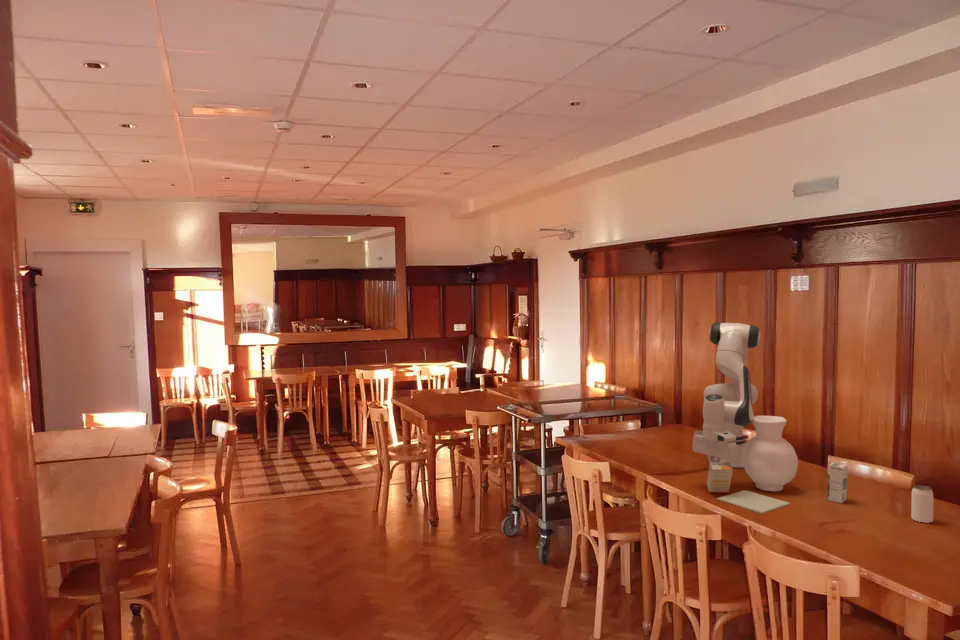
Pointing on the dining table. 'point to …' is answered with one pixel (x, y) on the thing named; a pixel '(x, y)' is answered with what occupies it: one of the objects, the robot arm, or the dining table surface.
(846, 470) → the syrup box
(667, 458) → the dining table surface
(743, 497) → the board
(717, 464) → the supplement box
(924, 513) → the can
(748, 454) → the vase
